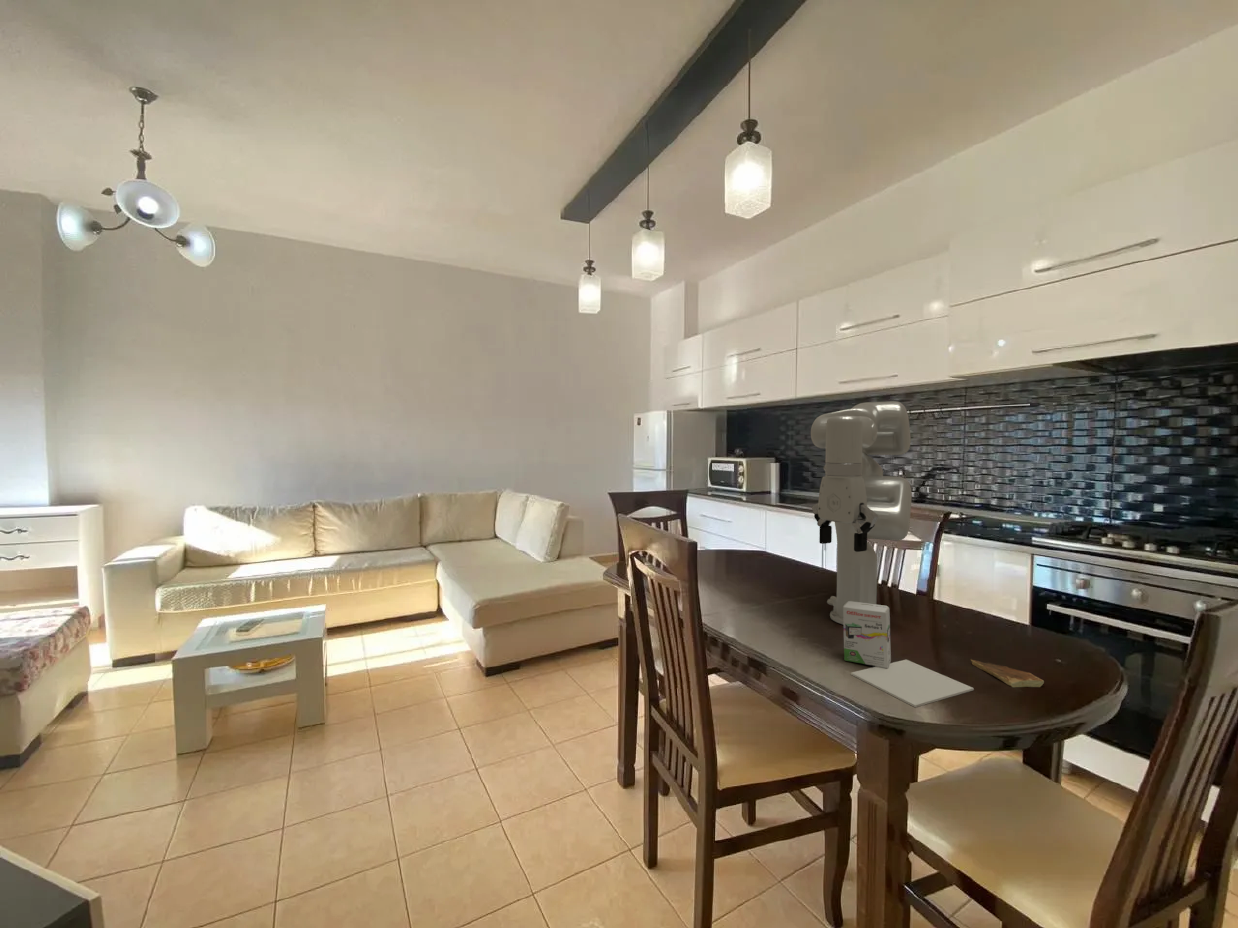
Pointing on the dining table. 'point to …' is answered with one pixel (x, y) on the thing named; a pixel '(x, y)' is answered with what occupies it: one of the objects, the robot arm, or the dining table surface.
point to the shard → (1009, 674)
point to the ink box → (867, 634)
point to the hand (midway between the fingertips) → (842, 546)
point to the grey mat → (912, 682)
